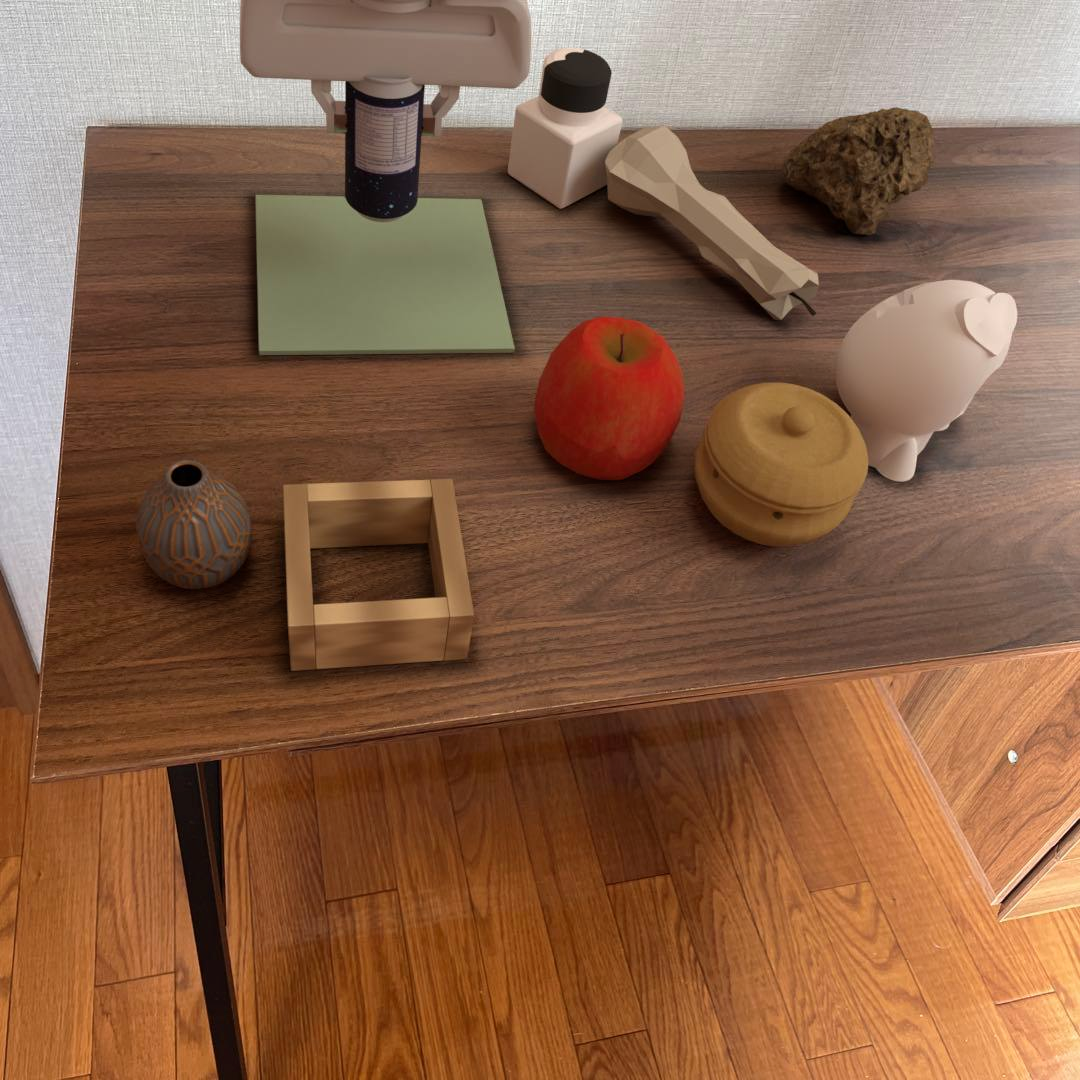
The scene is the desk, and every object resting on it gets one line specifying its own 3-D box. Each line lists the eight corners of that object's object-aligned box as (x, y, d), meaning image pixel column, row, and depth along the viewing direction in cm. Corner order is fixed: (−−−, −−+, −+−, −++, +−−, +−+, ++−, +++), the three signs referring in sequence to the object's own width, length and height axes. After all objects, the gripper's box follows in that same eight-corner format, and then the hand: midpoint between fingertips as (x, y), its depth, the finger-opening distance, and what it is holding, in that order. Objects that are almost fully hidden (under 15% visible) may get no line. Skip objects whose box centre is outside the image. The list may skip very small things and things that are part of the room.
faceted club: (648, 162, 108) (840, 316, 99) (582, 207, 105) (773, 369, 96) (653, 89, 100) (863, 249, 91) (582, 136, 97) (790, 305, 88)
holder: (290, 671, 68) (288, 626, 64) (285, 532, 75) (282, 484, 71) (466, 659, 71) (474, 615, 67) (446, 525, 77) (452, 478, 73)
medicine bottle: (610, 185, 106) (635, 66, 97) (560, 211, 102) (582, 90, 93) (555, 149, 108) (575, 30, 99) (505, 174, 105) (521, 52, 95)
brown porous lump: (778, 179, 112) (913, 93, 109) (843, 283, 109) (985, 198, 106) (763, 127, 102) (912, 30, 98) (836, 241, 98) (993, 144, 95)
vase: (255, 603, 71) (246, 516, 64) (142, 609, 70) (121, 521, 63) (254, 520, 75) (246, 430, 68) (147, 524, 74) (128, 433, 67)
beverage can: (430, 205, 89) (441, 63, 80) (387, 237, 86) (393, 93, 76) (374, 176, 90) (378, 33, 81) (329, 207, 87) (328, 61, 78)
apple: (673, 409, 88) (708, 304, 80) (660, 510, 81) (696, 406, 73) (541, 379, 88) (562, 271, 80) (516, 477, 81) (536, 370, 73)
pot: (675, 549, 79) (711, 454, 71) (688, 435, 86) (723, 337, 78) (835, 585, 79) (889, 494, 71) (835, 467, 86) (884, 373, 79)
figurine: (790, 428, 88) (857, 278, 77) (847, 358, 95) (918, 209, 83) (916, 499, 85) (1006, 354, 74) (966, 421, 92) (1057, 276, 80)
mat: (259, 355, 85) (258, 350, 85) (255, 199, 97) (255, 194, 97) (514, 353, 89) (514, 348, 89) (480, 203, 101) (481, 198, 101)
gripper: (225, -49, 68) (240, 151, 79) (549, -28, 72) (522, 159, 83) (225, -95, 72) (240, 102, 82) (533, -72, 76) (509, 112, 87)
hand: (384, 131), depth 83 cm, fingers closed on beverage can, 5 cm apart
